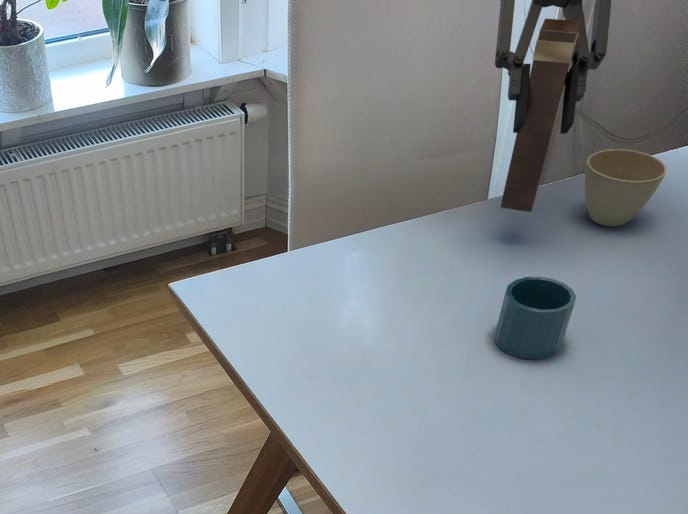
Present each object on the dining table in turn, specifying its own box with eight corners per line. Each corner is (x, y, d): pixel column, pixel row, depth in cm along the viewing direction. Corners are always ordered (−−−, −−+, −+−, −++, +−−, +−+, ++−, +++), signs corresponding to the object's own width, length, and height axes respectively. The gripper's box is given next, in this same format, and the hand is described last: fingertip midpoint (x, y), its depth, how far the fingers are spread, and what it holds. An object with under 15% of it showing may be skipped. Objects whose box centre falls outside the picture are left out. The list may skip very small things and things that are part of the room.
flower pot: (626, 243, 118) (645, 188, 112) (558, 220, 122) (573, 166, 116) (659, 215, 122) (679, 161, 117) (592, 195, 127) (608, 142, 121)
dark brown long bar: (536, 198, 116) (581, 21, 101) (531, 212, 114) (577, 33, 98) (504, 193, 117) (544, 17, 102) (499, 208, 115) (539, 30, 99)
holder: (564, 330, 105) (579, 282, 101) (555, 364, 101) (571, 317, 96) (500, 318, 107) (512, 272, 102) (489, 352, 103) (501, 305, 98)
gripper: (630, -62, 105) (609, 143, 108) (478, -61, 107) (460, 140, 110) (656, -108, 98) (632, 113, 101) (491, -107, 100) (472, 111, 102)
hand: (542, 127), depth 105 cm, fingers closed on dark brown long bar, 5 cm apart
